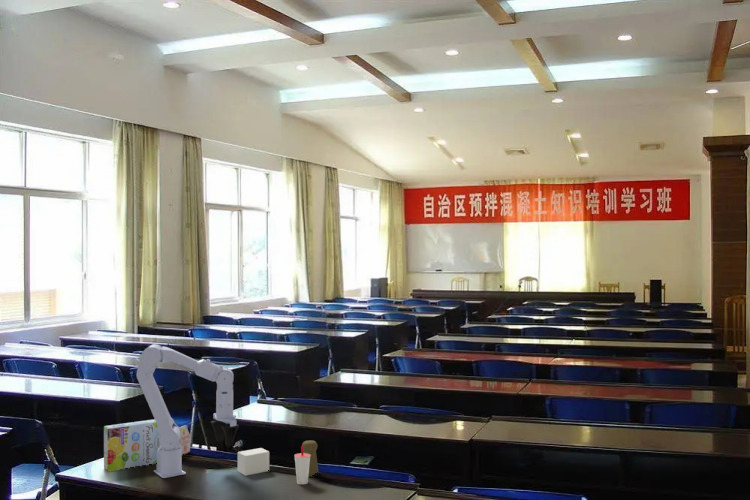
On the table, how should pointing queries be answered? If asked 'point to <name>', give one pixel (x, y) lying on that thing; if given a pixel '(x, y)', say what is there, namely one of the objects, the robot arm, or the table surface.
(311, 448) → the cork
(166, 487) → the table surface
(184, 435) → the tea bag
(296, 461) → the cup
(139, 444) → the snack box
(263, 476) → the table surface
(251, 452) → the cover
